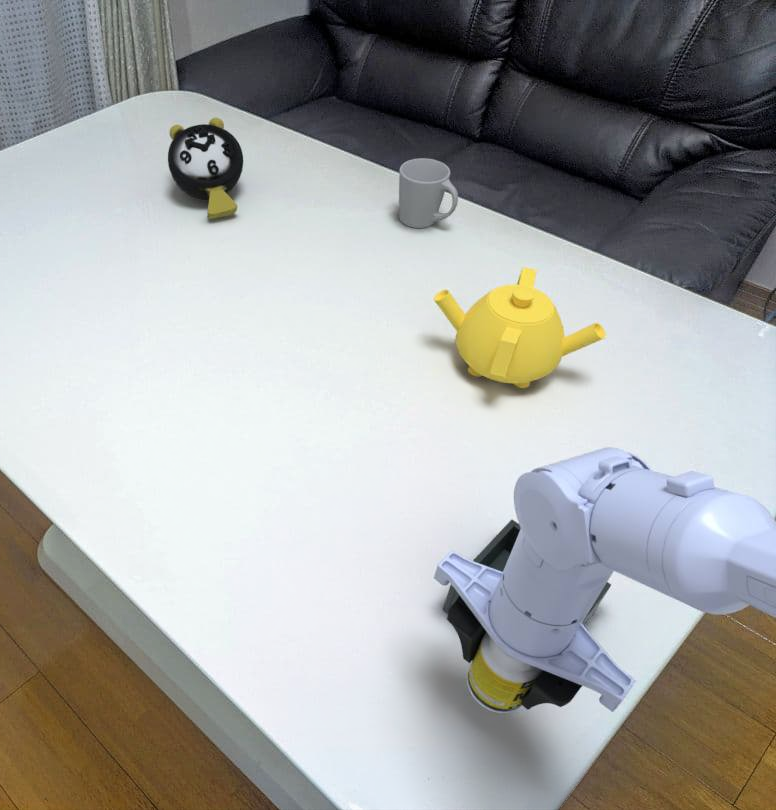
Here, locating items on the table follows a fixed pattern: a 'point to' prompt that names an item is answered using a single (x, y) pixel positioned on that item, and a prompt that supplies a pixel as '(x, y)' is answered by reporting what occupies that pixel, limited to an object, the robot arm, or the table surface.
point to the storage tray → (497, 558)
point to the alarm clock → (206, 164)
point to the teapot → (513, 332)
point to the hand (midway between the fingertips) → (501, 675)
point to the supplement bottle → (499, 678)
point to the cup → (424, 192)
